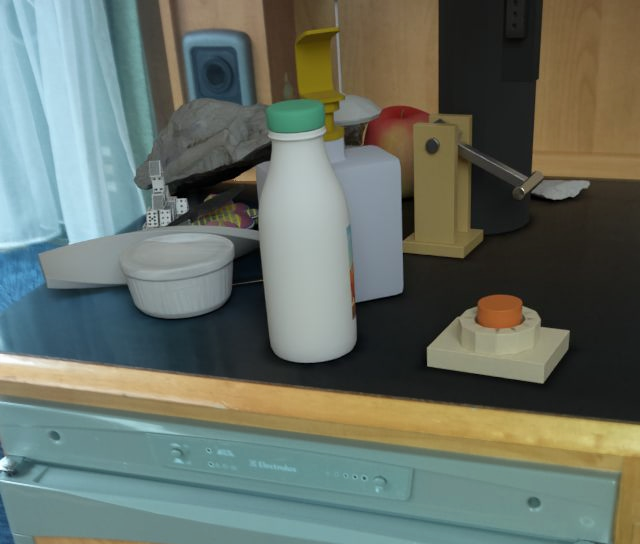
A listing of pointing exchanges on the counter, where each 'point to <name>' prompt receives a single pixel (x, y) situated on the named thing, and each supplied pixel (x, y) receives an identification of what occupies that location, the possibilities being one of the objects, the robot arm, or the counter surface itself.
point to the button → (499, 311)
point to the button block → (499, 348)
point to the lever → (499, 168)
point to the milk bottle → (305, 240)
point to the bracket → (442, 189)
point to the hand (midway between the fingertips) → (519, 80)
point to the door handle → (103, 255)
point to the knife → (248, 281)
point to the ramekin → (179, 274)
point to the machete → (208, 206)
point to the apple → (397, 139)
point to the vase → (486, 107)
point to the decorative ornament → (229, 216)
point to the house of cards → (163, 201)
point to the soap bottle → (355, 178)
